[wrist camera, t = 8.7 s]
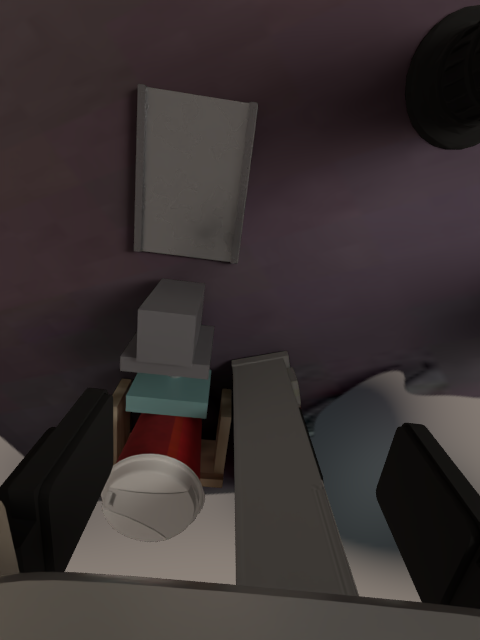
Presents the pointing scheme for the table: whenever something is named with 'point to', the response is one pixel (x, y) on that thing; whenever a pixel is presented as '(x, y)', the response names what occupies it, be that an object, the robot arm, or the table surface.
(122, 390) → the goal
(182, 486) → the paper cup
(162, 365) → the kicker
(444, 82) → the handle grip
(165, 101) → the track
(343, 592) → the cassette tape recorder
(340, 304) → the table surface
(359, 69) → the table surface
